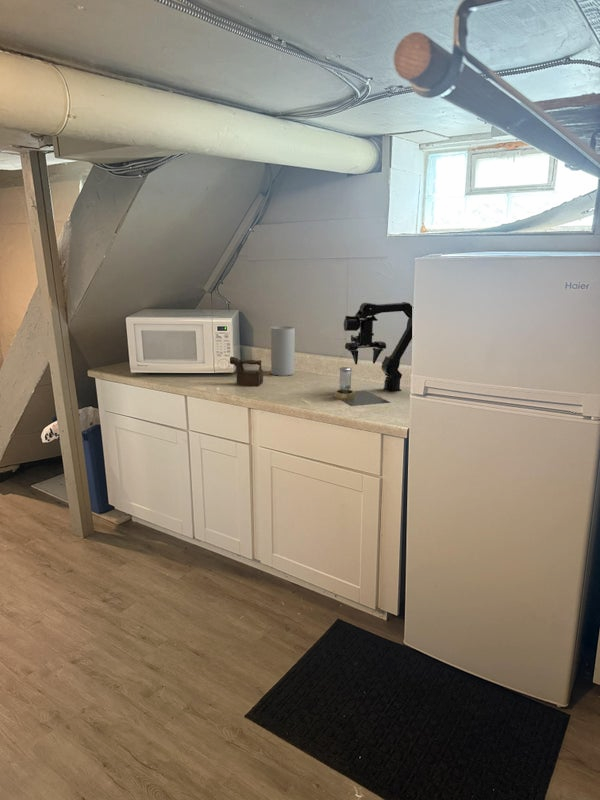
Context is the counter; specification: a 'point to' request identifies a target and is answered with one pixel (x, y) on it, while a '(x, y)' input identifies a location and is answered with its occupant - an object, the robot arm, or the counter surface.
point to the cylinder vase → (282, 350)
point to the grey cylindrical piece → (345, 380)
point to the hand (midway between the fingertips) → (365, 364)
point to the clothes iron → (247, 372)
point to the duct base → (359, 398)
